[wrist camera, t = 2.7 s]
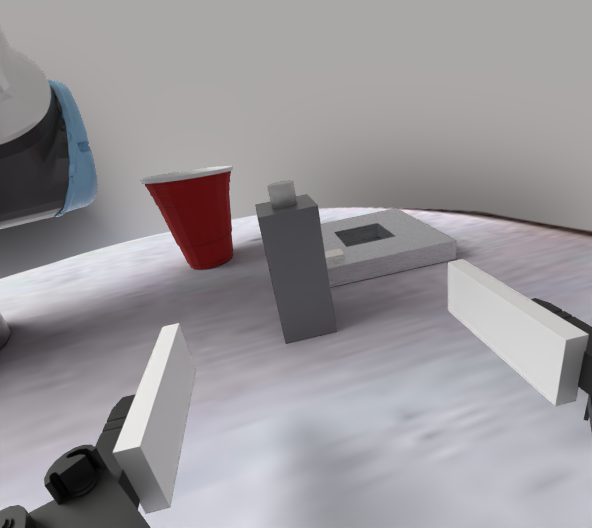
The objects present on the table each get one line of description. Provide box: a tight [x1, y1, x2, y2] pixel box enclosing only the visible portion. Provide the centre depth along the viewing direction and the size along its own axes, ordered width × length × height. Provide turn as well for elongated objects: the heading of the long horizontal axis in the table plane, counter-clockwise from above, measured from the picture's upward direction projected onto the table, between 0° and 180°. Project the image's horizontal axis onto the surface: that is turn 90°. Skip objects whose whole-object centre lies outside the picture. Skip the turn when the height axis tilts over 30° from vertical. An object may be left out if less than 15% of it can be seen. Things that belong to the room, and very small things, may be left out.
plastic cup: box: [141, 166, 233, 269], centre depth 43 cm, size 11×11×12 cm
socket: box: [321, 208, 456, 287], centre depth 39 cm, size 14×14×3 cm
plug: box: [256, 181, 337, 344], centre depth 26 cm, size 4×4×12 cm
